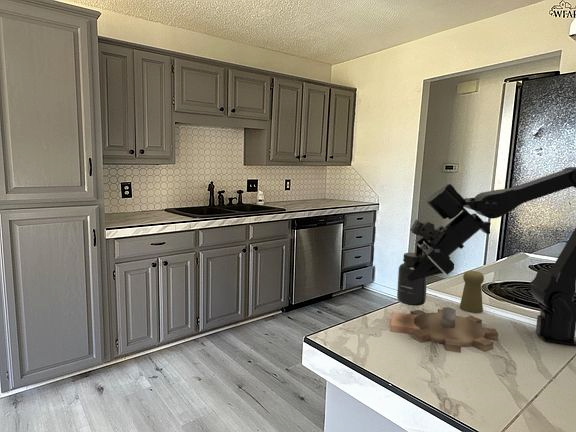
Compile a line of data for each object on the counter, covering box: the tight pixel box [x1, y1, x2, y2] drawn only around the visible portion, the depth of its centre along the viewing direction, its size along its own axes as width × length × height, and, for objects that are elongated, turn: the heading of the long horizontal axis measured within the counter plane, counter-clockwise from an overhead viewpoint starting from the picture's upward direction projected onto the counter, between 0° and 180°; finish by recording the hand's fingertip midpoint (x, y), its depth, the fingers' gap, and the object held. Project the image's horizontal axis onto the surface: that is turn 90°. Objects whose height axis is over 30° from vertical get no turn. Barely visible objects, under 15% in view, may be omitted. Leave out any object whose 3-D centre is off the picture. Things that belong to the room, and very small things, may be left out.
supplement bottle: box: [396, 252, 428, 307], centre depth 92 cm, size 7×7×12 cm
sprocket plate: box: [389, 306, 500, 353], centre depth 91 cm, size 24×21×6 cm
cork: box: [459, 270, 485, 314], centre depth 105 cm, size 6×6×11 cm
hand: (406, 275), depth 92 cm, fingers closed on supplement bottle, 7 cm apart
